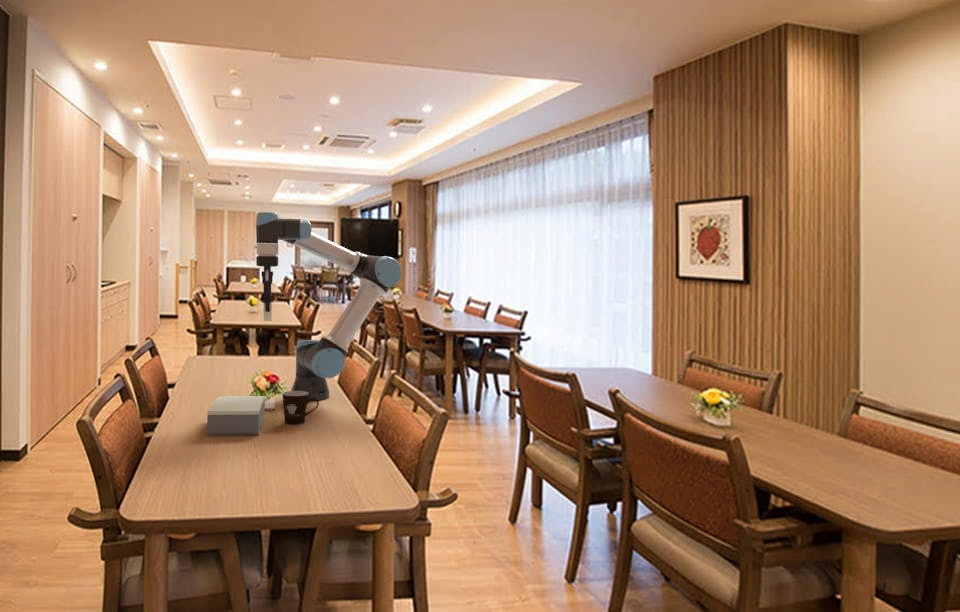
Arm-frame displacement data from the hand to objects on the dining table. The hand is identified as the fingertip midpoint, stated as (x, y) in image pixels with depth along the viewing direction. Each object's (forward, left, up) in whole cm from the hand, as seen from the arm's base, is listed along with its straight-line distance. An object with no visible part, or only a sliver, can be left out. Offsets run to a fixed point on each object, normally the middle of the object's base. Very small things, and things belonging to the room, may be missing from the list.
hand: (267, 320), depth 241 cm
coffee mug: (-12, +21, -33) cm, 41 cm away
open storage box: (+7, +25, -33) cm, 42 cm away
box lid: (+7, +25, -26) cm, 37 cm away
